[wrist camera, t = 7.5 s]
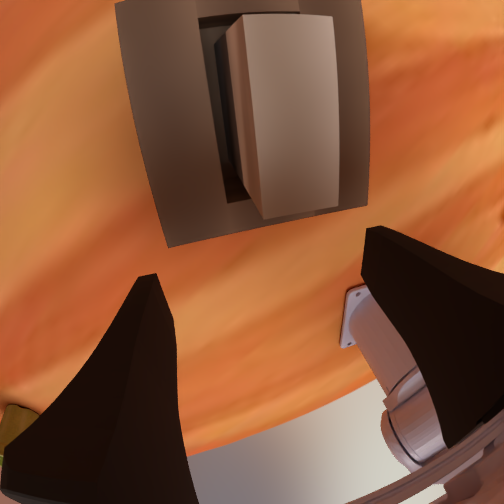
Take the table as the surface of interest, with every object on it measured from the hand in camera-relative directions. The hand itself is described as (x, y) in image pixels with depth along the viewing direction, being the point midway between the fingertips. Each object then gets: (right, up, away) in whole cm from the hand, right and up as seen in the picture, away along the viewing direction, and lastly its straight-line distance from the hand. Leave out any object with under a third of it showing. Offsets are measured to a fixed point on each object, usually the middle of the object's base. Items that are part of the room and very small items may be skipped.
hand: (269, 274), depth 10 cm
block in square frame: (-1, +9, +5) cm, 11 cm away
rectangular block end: (-1, +8, +3) cm, 9 cm away
